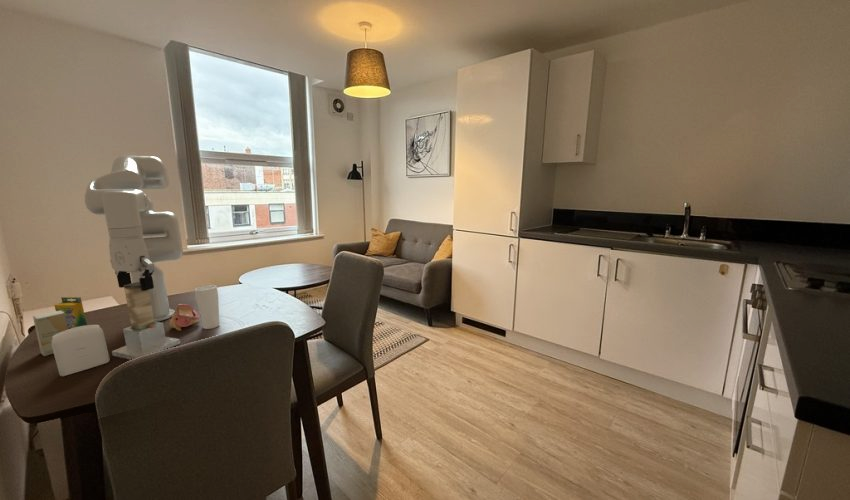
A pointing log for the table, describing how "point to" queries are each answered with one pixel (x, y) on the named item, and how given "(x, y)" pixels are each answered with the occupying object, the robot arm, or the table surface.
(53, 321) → the skincare box
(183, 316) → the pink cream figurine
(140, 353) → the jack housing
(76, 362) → the photo printer
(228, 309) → the table surface
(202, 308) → the drinking glass
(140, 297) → the column
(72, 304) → the crayon box
